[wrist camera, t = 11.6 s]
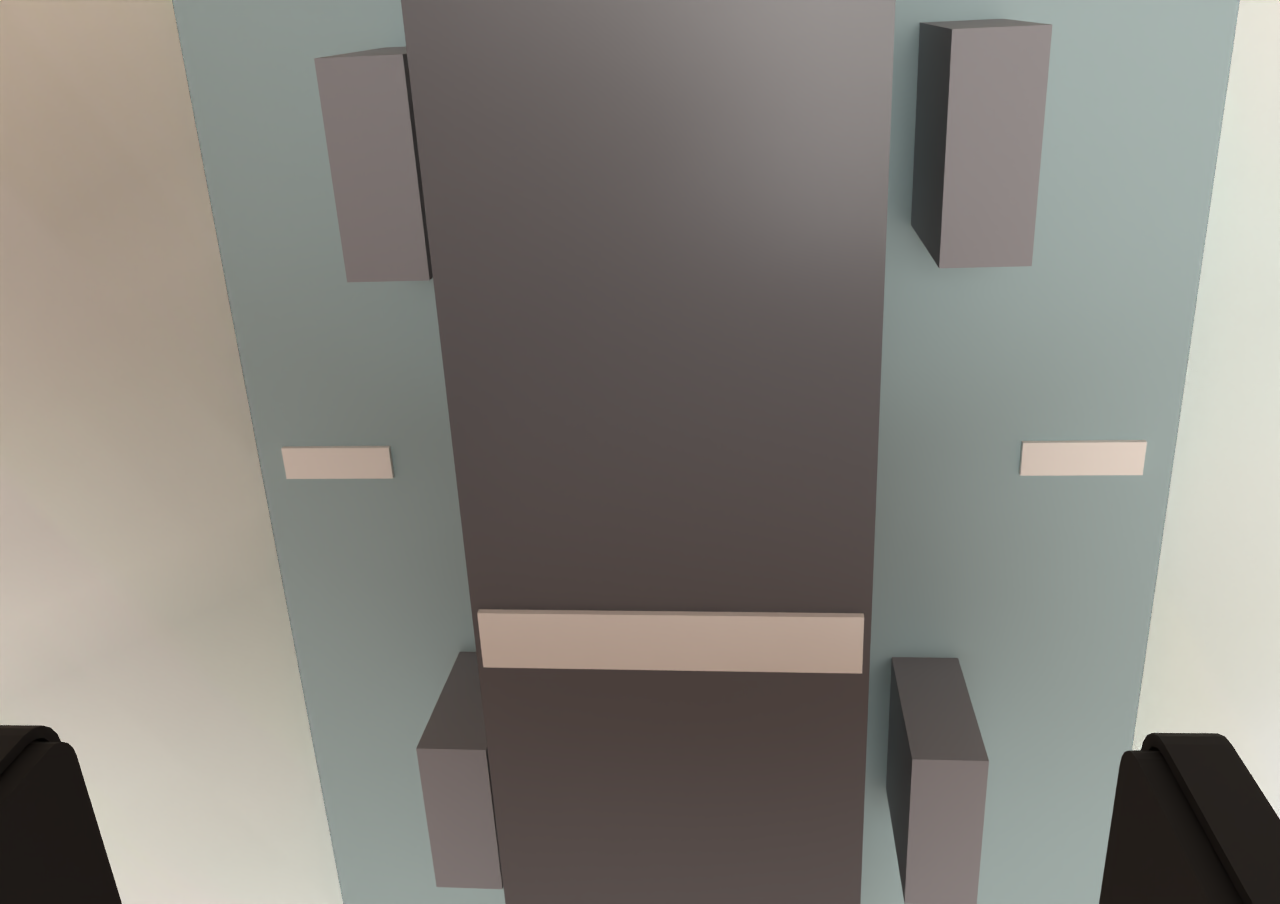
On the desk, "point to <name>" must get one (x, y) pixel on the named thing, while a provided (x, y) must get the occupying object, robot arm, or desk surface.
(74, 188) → the desk surface
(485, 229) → the dark gray block
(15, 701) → the desk surface
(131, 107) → the desk surface
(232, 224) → the base
